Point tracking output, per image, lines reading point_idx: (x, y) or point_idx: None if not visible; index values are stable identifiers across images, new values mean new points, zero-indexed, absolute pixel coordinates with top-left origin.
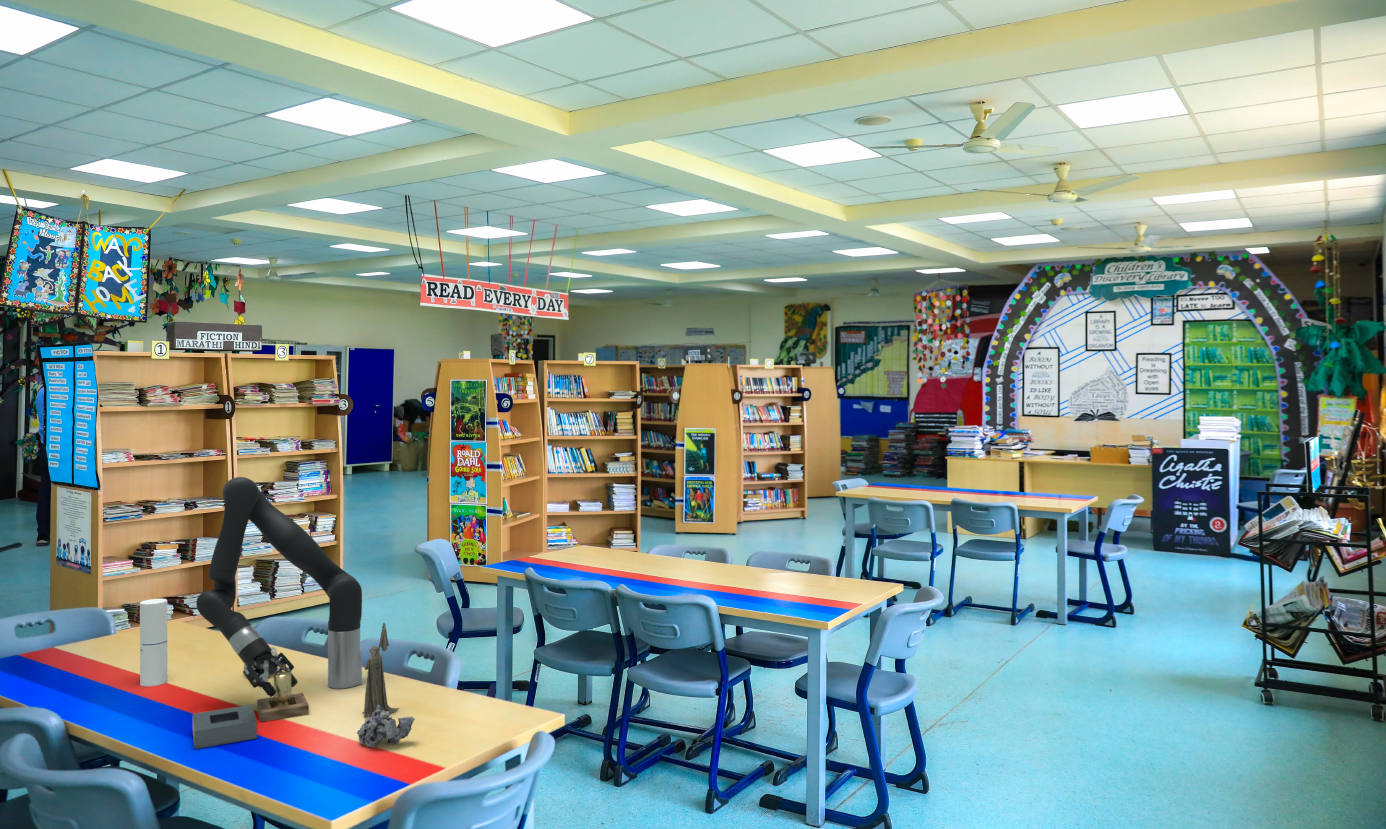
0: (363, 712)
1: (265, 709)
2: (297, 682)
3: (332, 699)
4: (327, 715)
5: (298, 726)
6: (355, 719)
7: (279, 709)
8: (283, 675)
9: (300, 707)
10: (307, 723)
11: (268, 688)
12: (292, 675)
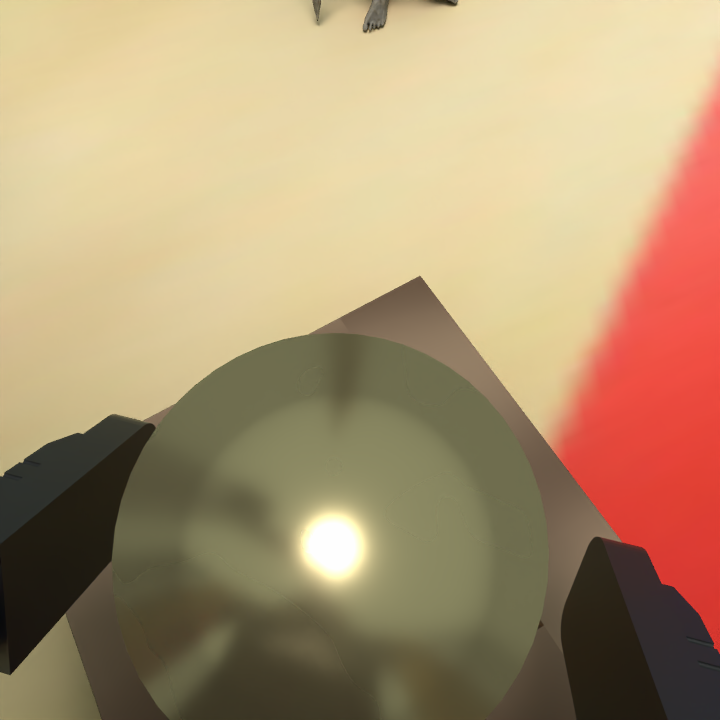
0: (379, 19)
1: None
2: (120, 419)
3: (69, 274)
4: (427, 189)
5: (671, 287)
6: (481, 33)
7: (569, 498)
8: (444, 446)
9: (458, 334)
10: (600, 252)
11: (713, 671)
12: (28, 481)
